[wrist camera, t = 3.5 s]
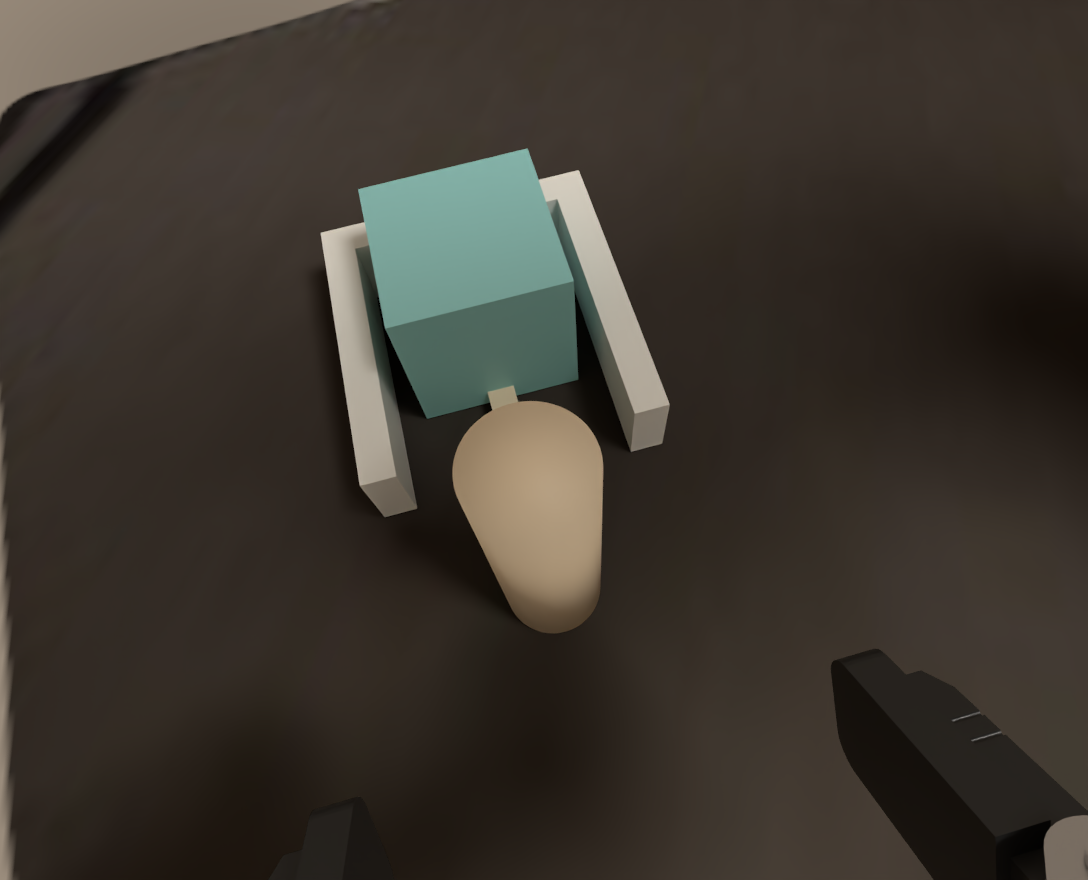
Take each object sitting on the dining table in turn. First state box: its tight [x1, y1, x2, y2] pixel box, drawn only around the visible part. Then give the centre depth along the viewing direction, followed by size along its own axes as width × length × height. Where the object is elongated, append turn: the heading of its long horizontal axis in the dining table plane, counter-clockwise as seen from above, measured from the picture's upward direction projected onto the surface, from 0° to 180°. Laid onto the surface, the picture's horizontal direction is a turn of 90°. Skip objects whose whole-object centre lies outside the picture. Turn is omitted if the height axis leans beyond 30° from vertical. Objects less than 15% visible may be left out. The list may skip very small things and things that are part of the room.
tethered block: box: [358, 149, 603, 633], centre depth 22 cm, size 6×15×10 cm, turn 14°
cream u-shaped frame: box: [321, 170, 670, 517], centre depth 27 cm, size 10×11×3 cm
